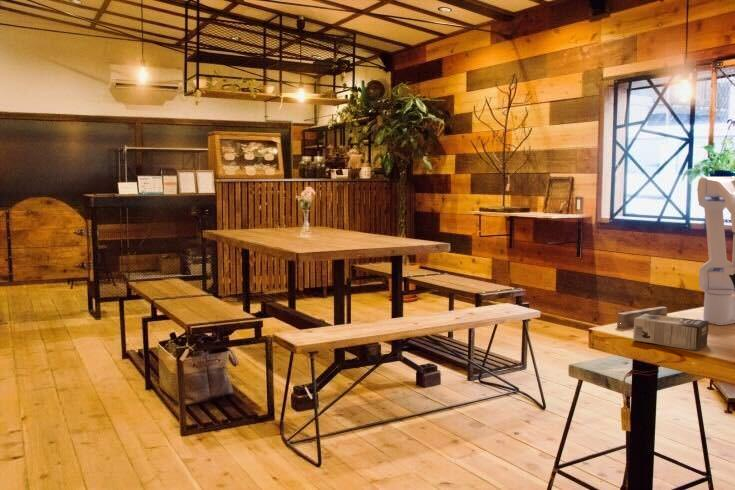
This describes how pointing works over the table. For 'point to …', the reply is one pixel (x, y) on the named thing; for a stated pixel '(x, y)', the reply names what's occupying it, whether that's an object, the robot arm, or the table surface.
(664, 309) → the walnut board
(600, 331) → the table surface
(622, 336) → the table surface
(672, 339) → the coffee box
